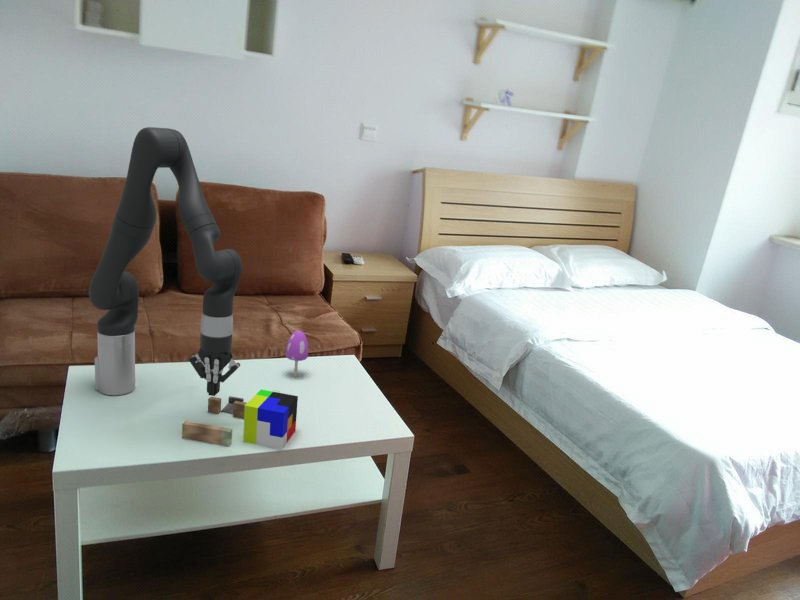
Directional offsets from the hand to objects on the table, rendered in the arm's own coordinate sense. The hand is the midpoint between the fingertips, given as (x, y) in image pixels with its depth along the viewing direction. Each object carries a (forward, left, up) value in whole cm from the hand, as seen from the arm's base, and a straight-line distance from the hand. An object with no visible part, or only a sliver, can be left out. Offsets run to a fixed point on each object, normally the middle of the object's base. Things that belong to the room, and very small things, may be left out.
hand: (213, 394), depth 157 cm
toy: (+10, +38, -9) cm, 40 cm away
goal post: (+13, +9, -9) cm, 18 cm away
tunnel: (+2, +3, -9) cm, 10 cm away
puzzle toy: (+15, 0, -9) cm, 18 cm away
